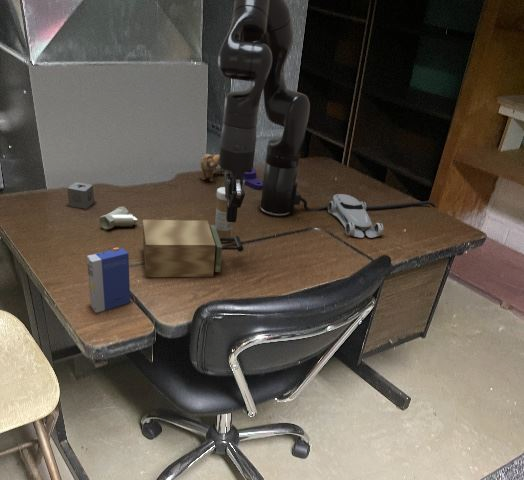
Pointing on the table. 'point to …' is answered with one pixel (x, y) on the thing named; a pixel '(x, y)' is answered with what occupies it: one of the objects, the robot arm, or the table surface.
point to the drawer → (219, 247)
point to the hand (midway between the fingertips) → (231, 220)
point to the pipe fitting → (117, 219)
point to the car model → (354, 216)
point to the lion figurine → (210, 165)
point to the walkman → (108, 279)
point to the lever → (252, 179)
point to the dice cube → (80, 195)
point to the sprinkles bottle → (222, 216)
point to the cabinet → (178, 248)
